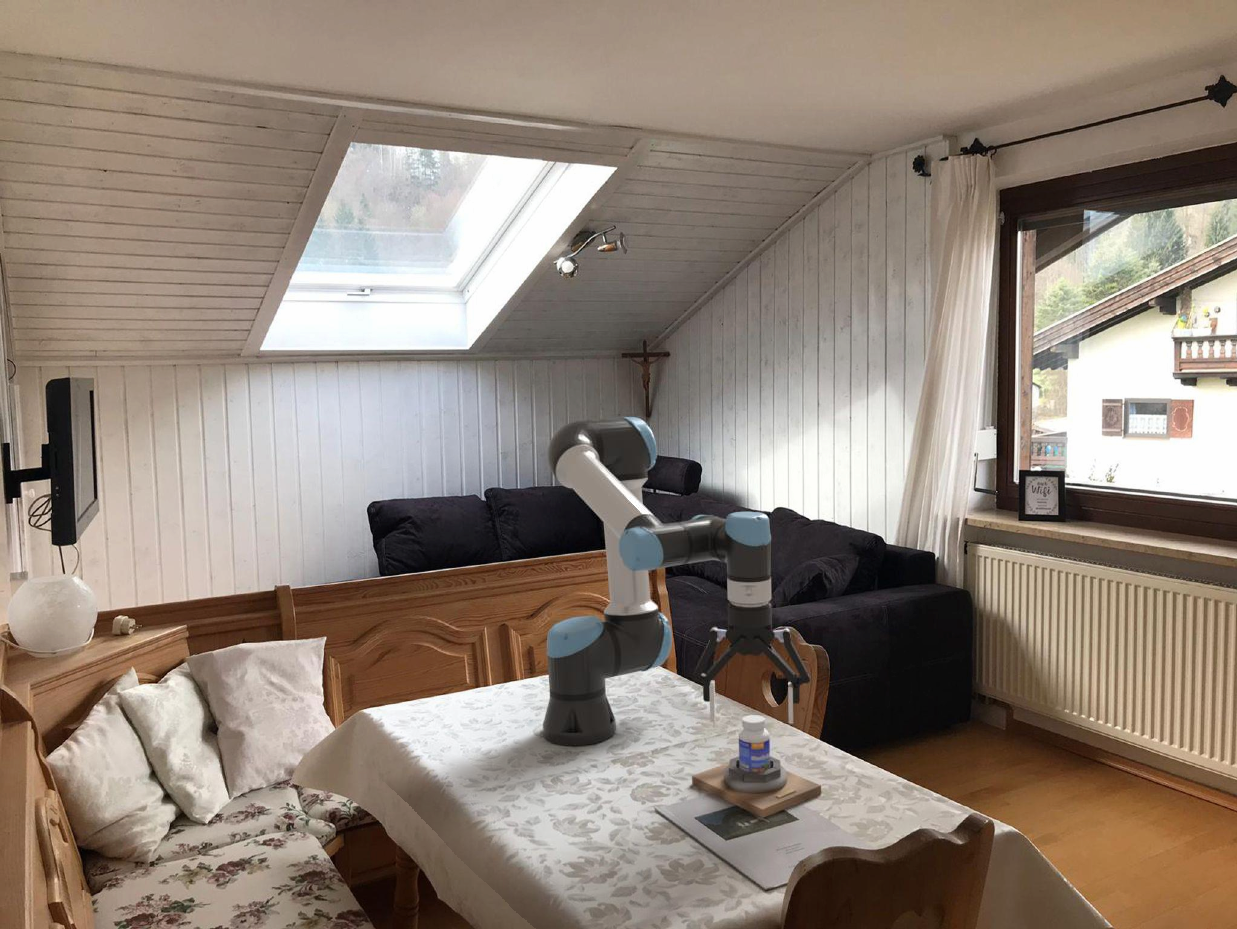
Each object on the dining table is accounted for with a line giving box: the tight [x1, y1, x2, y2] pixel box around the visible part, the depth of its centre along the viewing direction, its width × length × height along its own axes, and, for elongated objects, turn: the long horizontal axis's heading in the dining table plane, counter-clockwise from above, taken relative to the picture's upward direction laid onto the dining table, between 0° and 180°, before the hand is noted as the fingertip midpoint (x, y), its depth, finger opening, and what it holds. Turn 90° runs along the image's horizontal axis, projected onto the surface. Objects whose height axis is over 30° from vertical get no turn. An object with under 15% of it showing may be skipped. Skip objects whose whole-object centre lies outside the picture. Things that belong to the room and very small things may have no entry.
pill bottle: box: [738, 714, 771, 772], centre depth 174 cm, size 5×5×10 cm
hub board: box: [691, 755, 822, 819], centre depth 174 cm, size 18×14×4 cm
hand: (751, 719), depth 174 cm, fingers open, 13 cm apart
